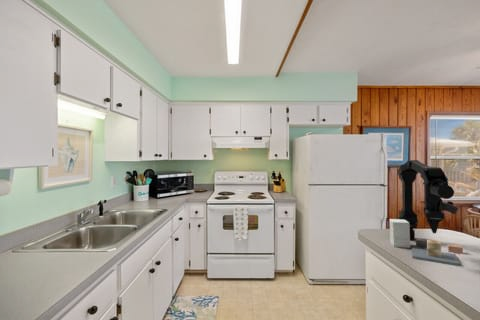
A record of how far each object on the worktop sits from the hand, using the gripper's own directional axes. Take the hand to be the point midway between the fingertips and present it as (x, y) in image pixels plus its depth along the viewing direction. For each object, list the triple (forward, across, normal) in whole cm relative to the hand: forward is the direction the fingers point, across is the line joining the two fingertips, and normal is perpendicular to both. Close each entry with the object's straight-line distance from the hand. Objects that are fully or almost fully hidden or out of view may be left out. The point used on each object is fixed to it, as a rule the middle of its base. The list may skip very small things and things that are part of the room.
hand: (433, 230), depth 111 cm
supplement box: (+12, +11, +13) cm, 21 cm away
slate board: (+12, 0, 0) cm, 12 cm away
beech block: (+11, 0, 0) cm, 11 cm away
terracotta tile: (+12, +13, -9) cm, 20 cm away
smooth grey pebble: (+12, +15, +4) cm, 20 cm away
